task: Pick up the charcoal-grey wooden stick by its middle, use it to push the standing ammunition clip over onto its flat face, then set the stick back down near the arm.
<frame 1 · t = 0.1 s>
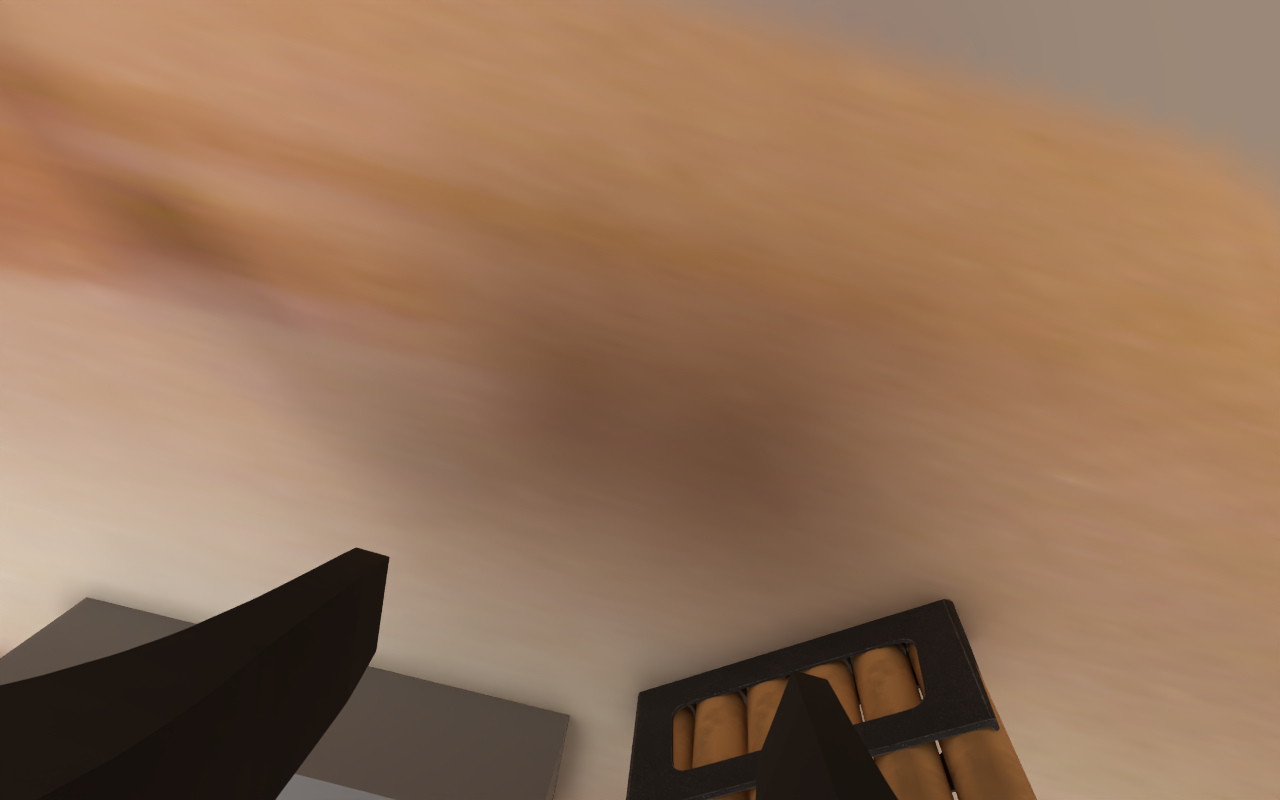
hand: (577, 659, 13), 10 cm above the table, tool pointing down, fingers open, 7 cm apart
ammunition clip: (795, 665, 25), on the table
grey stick: (325, 694, 27), on the table
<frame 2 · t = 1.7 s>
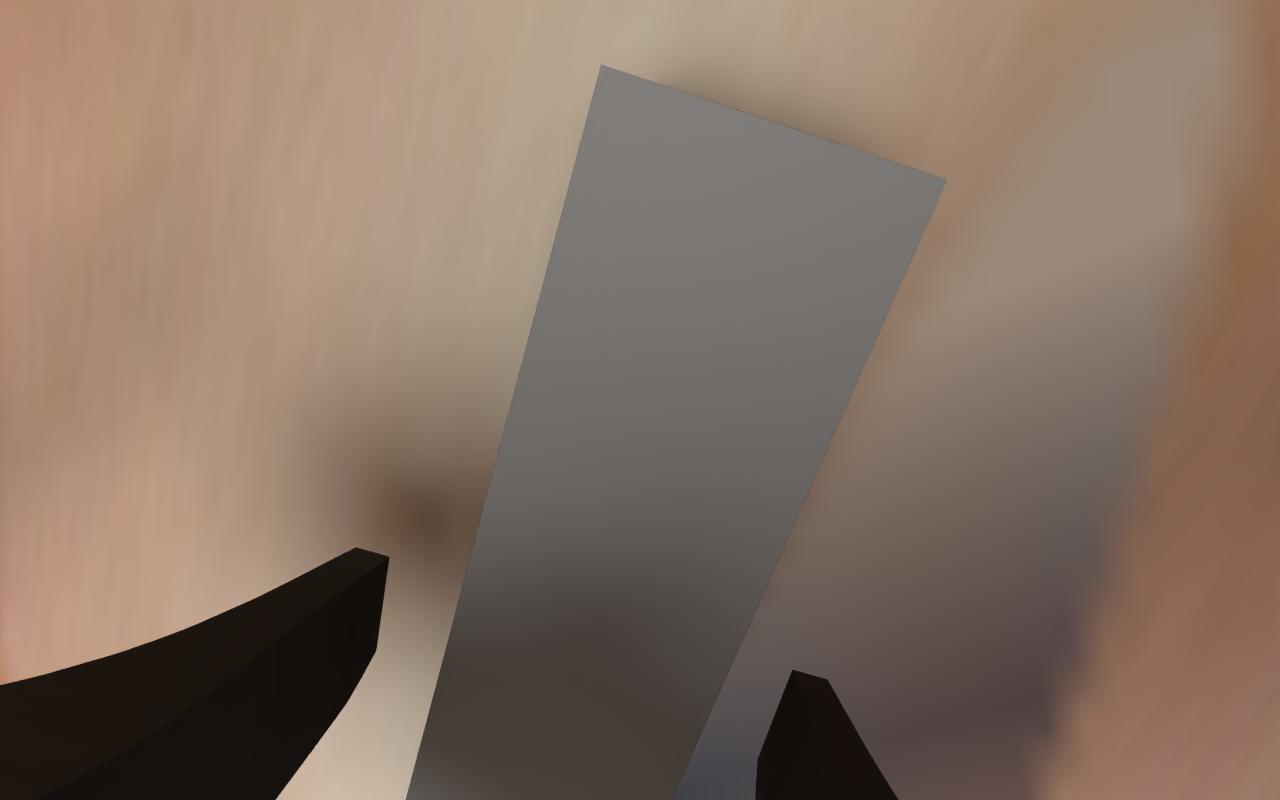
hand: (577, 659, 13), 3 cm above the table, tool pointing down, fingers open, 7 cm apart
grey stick: (613, 554, 16), on the table
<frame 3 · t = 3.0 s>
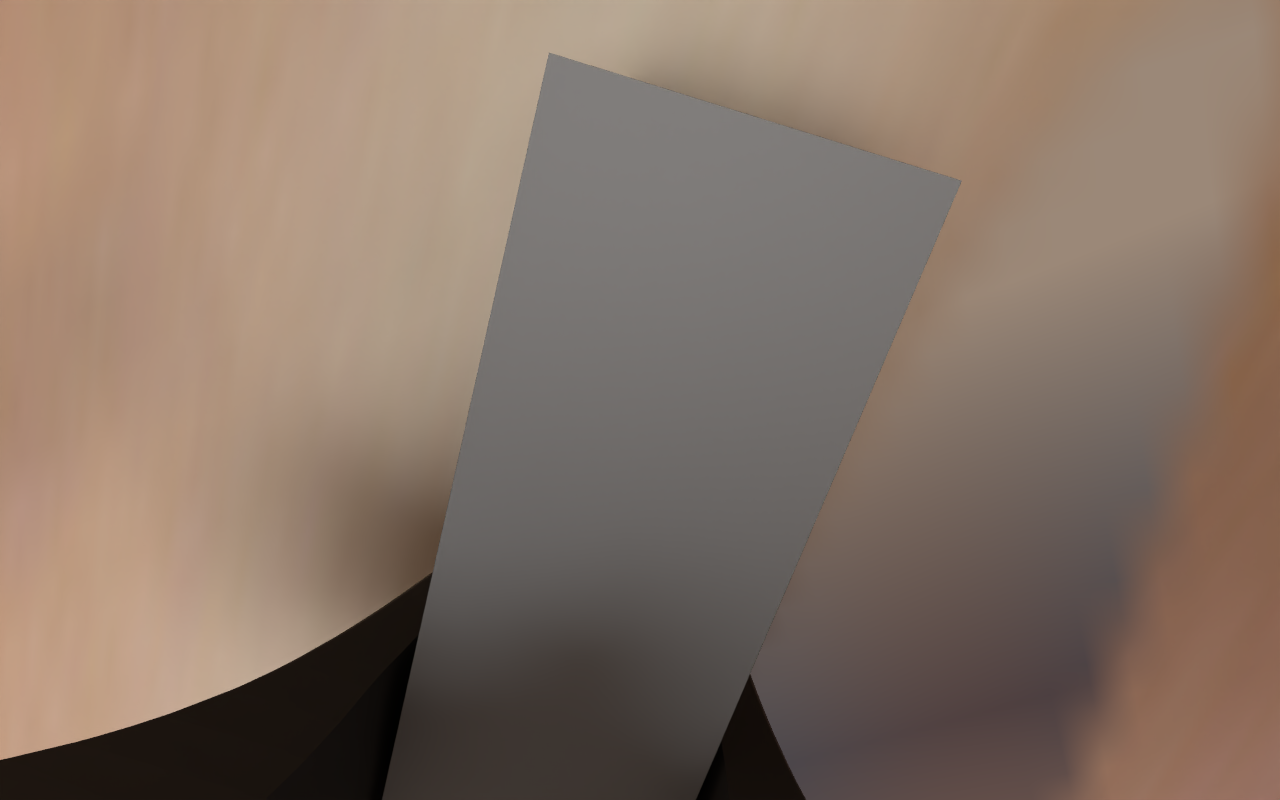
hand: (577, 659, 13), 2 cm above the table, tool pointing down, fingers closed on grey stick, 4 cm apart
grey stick: (597, 592, 15), on the table, touching gripper
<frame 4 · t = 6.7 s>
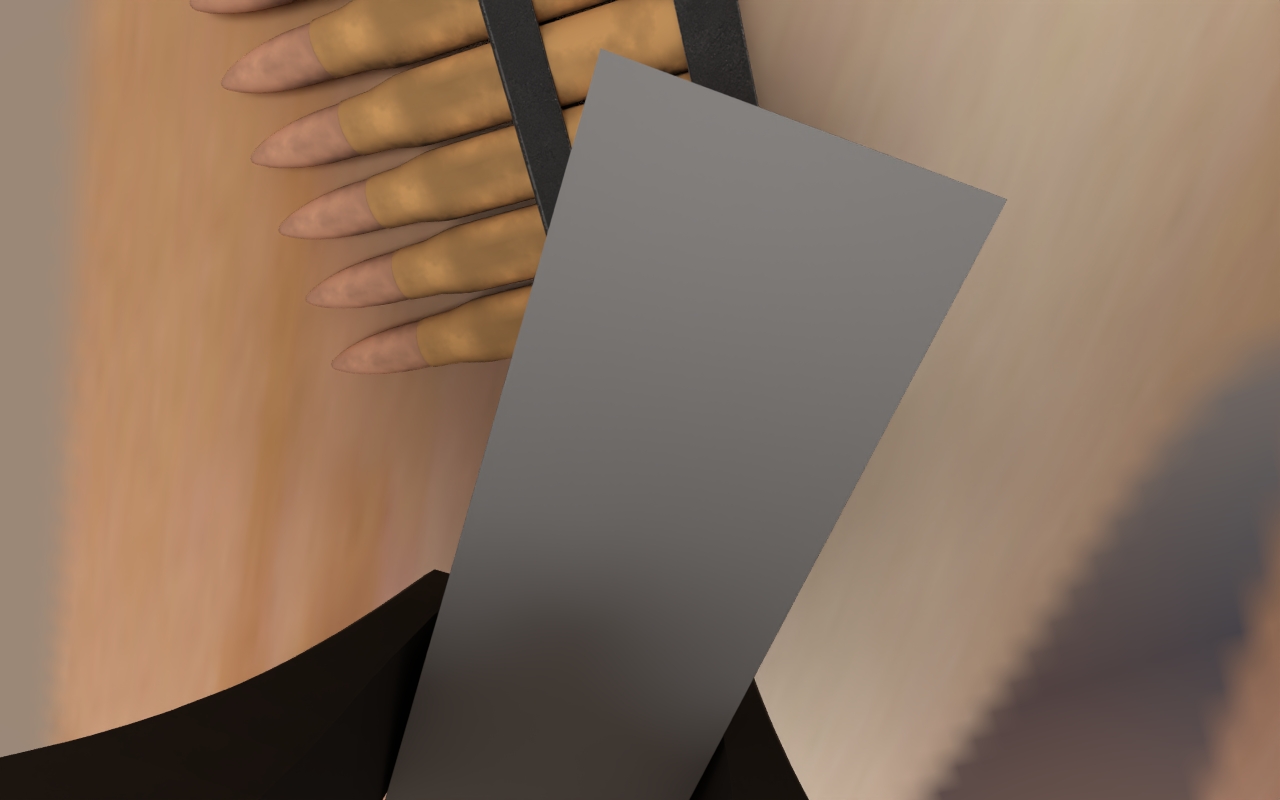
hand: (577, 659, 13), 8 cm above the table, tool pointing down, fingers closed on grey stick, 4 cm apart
ammunition clip: (757, 52, 16), point 1 cm above the table
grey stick: (606, 569, 15), point 6 cm above the table, touching gripper
when the fingers open (3 cm above the table, at t = 10.8 s): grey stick stays where it is, on the table.
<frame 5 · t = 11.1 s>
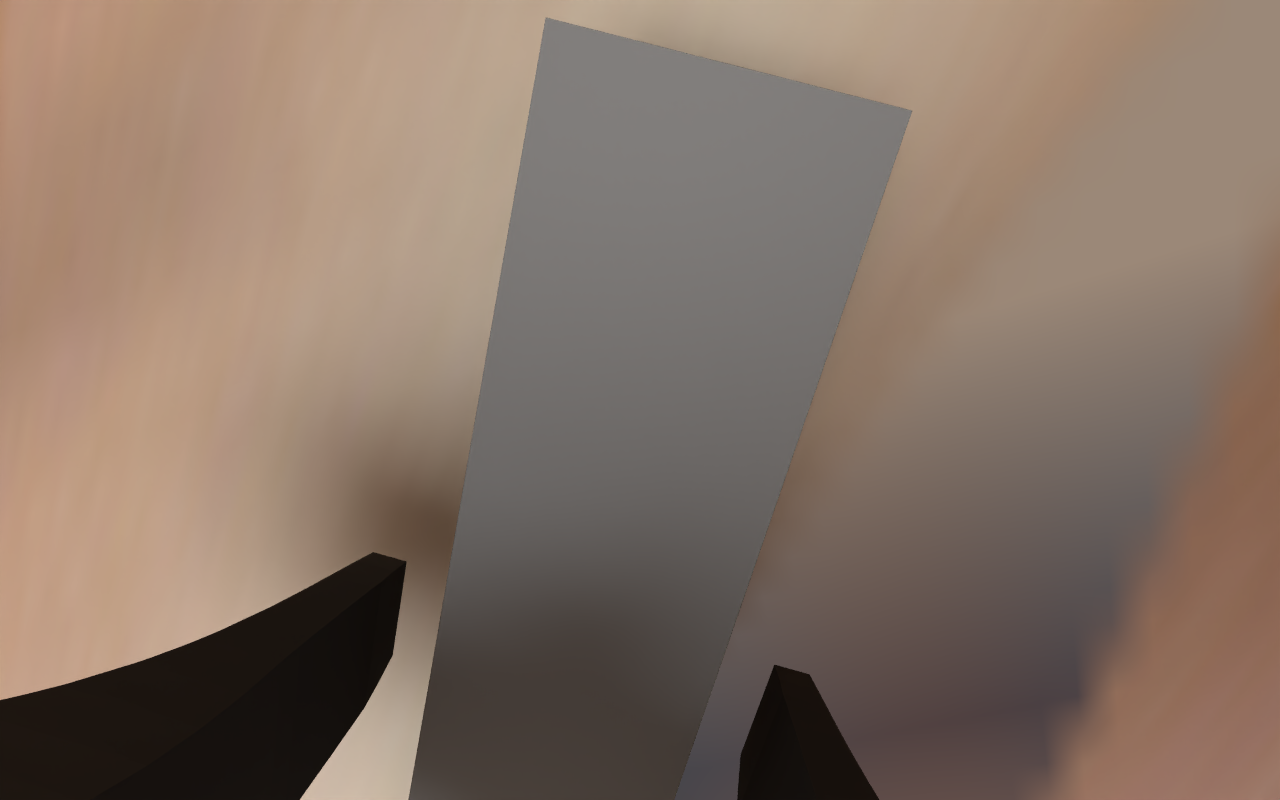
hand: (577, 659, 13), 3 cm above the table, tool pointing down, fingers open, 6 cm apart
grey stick: (611, 542, 16), on the table
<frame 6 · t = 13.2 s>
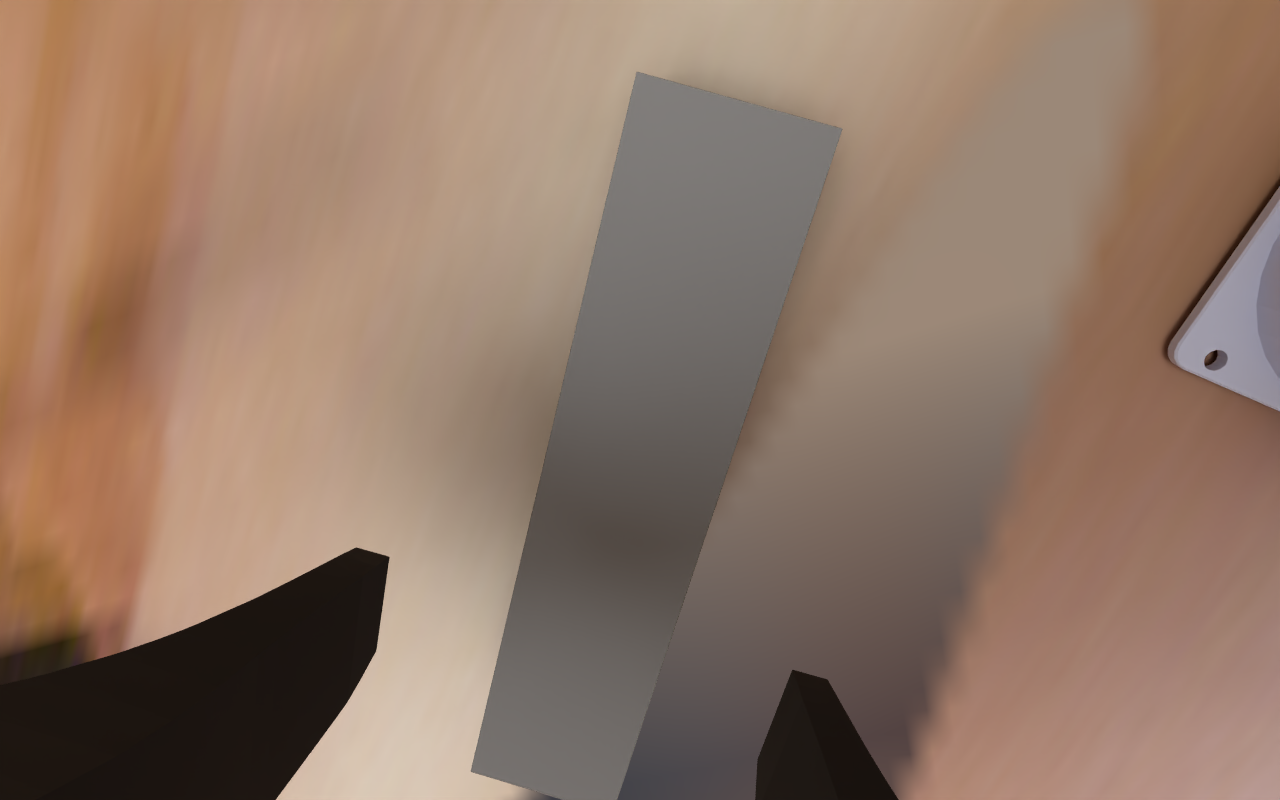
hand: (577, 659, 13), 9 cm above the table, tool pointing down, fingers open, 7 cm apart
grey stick: (646, 430, 22), on the table
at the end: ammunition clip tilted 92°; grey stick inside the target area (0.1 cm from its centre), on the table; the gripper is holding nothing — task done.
